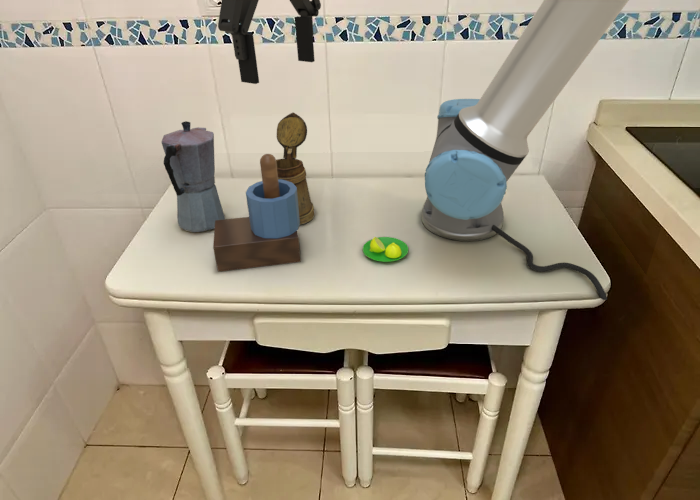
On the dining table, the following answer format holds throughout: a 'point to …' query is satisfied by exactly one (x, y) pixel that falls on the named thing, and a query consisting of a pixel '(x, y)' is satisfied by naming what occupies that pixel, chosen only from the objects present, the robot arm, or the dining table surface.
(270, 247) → the peg box
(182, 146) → the moka pot
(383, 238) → the green plate
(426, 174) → the robot arm
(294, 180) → the wooden mug
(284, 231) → the blue faceted cup
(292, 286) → the dining table surface
